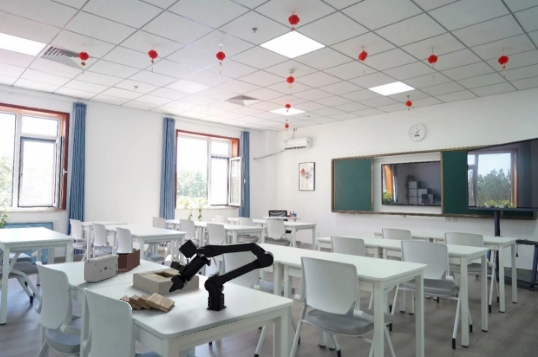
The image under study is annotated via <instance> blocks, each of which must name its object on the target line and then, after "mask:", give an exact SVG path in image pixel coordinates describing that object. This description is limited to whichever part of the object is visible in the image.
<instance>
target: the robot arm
mask: <svg viewBox="0 0 538 357" xmlns="http://www.w3.org/2000/svg"><path fill="white" fill-rule="evenodd" d="M177 250H178V251H179V253H181V255H183V256H184V257H185V258H186V259H191V260H190V261H189V262H187V263H185V262H184V261H181V260H179V259H177V258H174V259H172V261H171V263H170V265H169V268H173V269H175V270H178V271H179V272H178V273H179V274H180V275H179V274H176V275H174V276H173V277H172V278H171V281H172V282H173V285H172V286H171V288H170V289H169V292H170V293H171V292H173V291H176V290H178V289H180V290H181V289H182V288H183V287H184V286H185V285H186V284H187V282H189V281H191V280H192V279H193V278H194V276H195V275H198V273H199V272H200V271H201V269H203V268H204V266H207V267H211V265H212V259H211V258H214V257H218V256H221V255H224V254H235V253H245V252H251V253H252V254H253V255H254V256H255V258H254V259H253V260H250V261H248V262H246V263H244V264H242V265H239V266H237V267H235V268H233V269H230V270H228V271H226V272H223V273H220V271H219V270H218V271H216V272H214V273H211V274H210V275H209V276H208V277H207V278H206V280H205V281H204V284H203V287H204V290H206V292H207V293H208V296H207V307H206V308H205V309H206V310H210V311H211V310H212V311H217V312H219V311H221V310H223V309H225V308H227V305H226V304H225V293H224V290H225V286H224V285H225V284H226V283H228V282H230V281H232V280H235V279H237V278H239V277H242V276H244V275H245V274H249V273H251V272H252V271H255V270H260V269H264V268H269V267H271V266H273V264H274V258H275V257H274V254H273V253H272V252H271V251H269V250H265V249H264V247H261V246H260V245H259V244H257V242H255V241H248V242H247V241H246V242H236V243H225V244H224V243H217V242H210V243H207V244H205V245H203V246H197V245H196V244H195V243H194V242H193V240H192V239H191V238H189V239H188V240H186V242H185V243H183V244H181V246H180V247H179V248H178V249H177ZM186 281H187V282H186Z"/></svg>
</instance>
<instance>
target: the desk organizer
mask: <svg viewBox="0 0 538 357" xmlns="http://www.w3.org/2000/svg"><path fill="white" fill-rule="evenodd" d="M115 254H116V255H119V258H118V273H129V272H130V271H132V270H133V269H135V268H137V267H139V266H140V265H141V249H140V248H139V249H136V250H135V251H131V252H118V253H115Z"/></svg>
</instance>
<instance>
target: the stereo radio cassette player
mask: <svg viewBox="0 0 538 357" xmlns="http://www.w3.org/2000/svg"><path fill="white" fill-rule="evenodd" d="M96 250H99V251H100V252H102V253H104V255H100V256H95V257H91V258H86V259H85V260H84V261H83V263H84V264H83V281H85V283H97V282H100V281H104V280H106V279H111V278H113V277H117V276H118V273H119V272H118V258H119V255H116V254H117V253H115V254H111V253H107V252H106V251H104V250H102V249H100V248H97V247H96Z"/></svg>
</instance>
